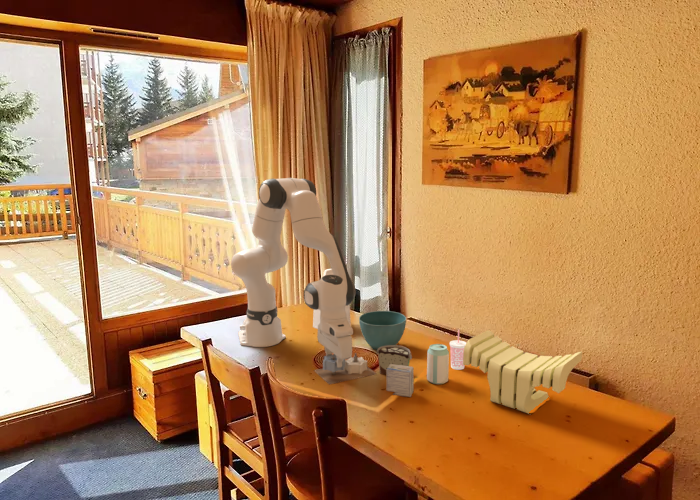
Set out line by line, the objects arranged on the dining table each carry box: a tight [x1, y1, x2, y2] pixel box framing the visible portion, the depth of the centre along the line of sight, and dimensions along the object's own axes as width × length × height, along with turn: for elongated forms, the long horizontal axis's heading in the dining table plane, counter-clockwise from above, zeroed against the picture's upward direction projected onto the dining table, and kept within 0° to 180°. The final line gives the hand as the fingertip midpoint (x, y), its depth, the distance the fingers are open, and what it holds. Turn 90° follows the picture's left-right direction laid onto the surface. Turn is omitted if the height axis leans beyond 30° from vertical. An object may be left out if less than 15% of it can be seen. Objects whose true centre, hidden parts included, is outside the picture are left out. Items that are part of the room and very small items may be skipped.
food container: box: [376, 344, 413, 376], centre depth 185 cm, size 12×6×10 cm, turn 65°
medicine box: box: [386, 364, 414, 398], centre depth 172 cm, size 8×4×9 cm, turn 71°
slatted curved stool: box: [463, 329, 583, 414], centre depth 165 cm, size 30×16×18 cm, turn 47°
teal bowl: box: [358, 310, 407, 351], centre depth 211 cm, size 18×18×12 cm
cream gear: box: [344, 356, 368, 374], centre depth 188 cm, size 7×8×3 cm
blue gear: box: [322, 353, 346, 372], centre depth 184 cm, size 7×8×3 cm
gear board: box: [313, 352, 377, 385], centre depth 186 cm, size 13×18×7 cm
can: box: [426, 343, 450, 385], centre depth 181 cm, size 7×7×12 cm
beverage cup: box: [449, 329, 467, 370], centre depth 192 cm, size 6×6×14 cm
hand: (334, 362), depth 184 cm, fingers closed on blue gear, 6 cm apart
